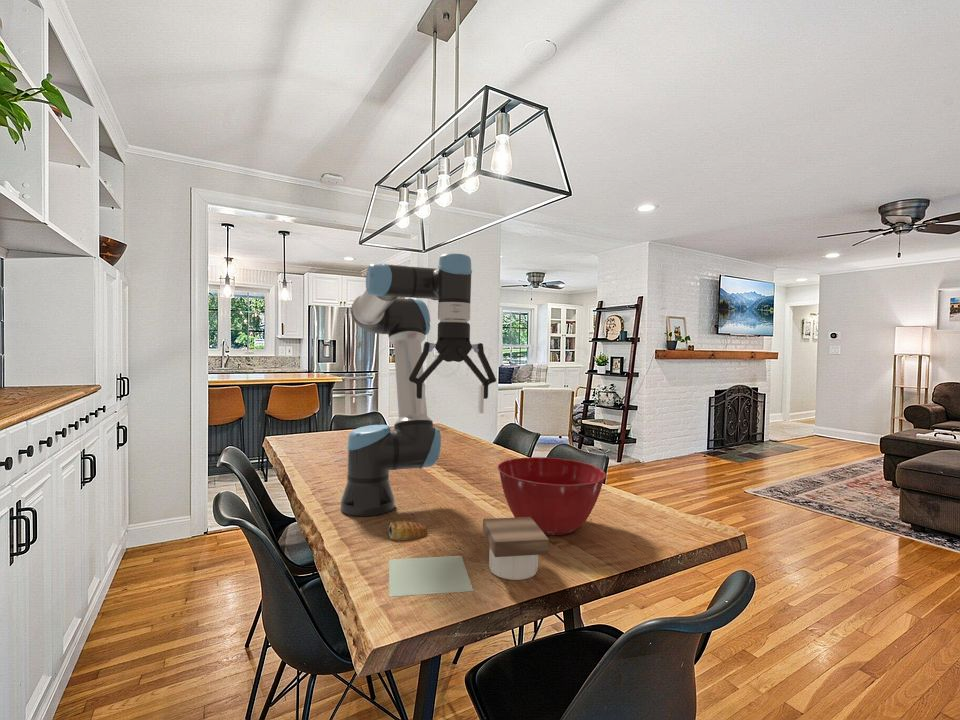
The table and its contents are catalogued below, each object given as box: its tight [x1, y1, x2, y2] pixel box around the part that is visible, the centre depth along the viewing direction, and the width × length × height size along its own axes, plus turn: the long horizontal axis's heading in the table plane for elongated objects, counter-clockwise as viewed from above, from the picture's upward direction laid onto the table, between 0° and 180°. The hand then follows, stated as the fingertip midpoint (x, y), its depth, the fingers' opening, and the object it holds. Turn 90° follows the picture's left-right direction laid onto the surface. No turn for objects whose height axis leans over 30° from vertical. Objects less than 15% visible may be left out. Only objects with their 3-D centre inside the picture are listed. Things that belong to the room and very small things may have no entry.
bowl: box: [488, 547, 539, 581], centre depth 105 cm, size 10×10×6 cm
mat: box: [388, 555, 474, 598], centre depth 102 cm, size 16×16×1 cm
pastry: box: [387, 520, 428, 541], centre depth 123 cm, size 9×7×4 cm
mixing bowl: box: [497, 456, 607, 536], centre depth 132 cm, size 28×28×16 cm
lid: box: [482, 517, 550, 557], centre depth 105 cm, size 13×11×3 cm
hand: (452, 412), depth 116 cm, fingers open, 13 cm apart
